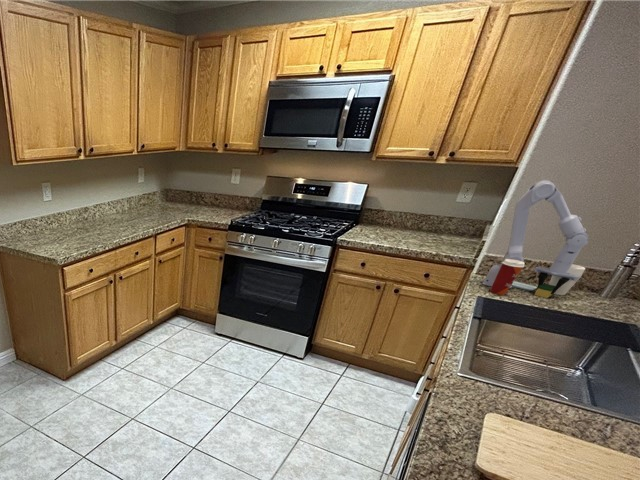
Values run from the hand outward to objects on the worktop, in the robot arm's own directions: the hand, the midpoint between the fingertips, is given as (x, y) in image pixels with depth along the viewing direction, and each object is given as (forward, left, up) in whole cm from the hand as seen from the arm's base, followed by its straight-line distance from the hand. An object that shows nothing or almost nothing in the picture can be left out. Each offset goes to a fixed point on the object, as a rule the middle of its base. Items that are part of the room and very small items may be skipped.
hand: (544, 291), depth 182 cm
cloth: (-10, +4, -1) cm, 11 cm away
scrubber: (0, 0, -1) cm, 1 cm away
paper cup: (-12, -16, -2) cm, 20 cm away
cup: (+2, +9, -2) cm, 10 cm away
